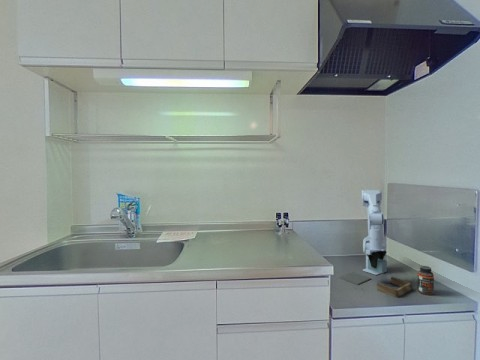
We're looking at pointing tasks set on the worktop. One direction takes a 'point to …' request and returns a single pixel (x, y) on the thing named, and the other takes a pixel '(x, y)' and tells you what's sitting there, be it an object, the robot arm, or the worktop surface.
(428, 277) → the supplement bottle
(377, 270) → the block
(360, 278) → the mat
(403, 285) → the arch frame
